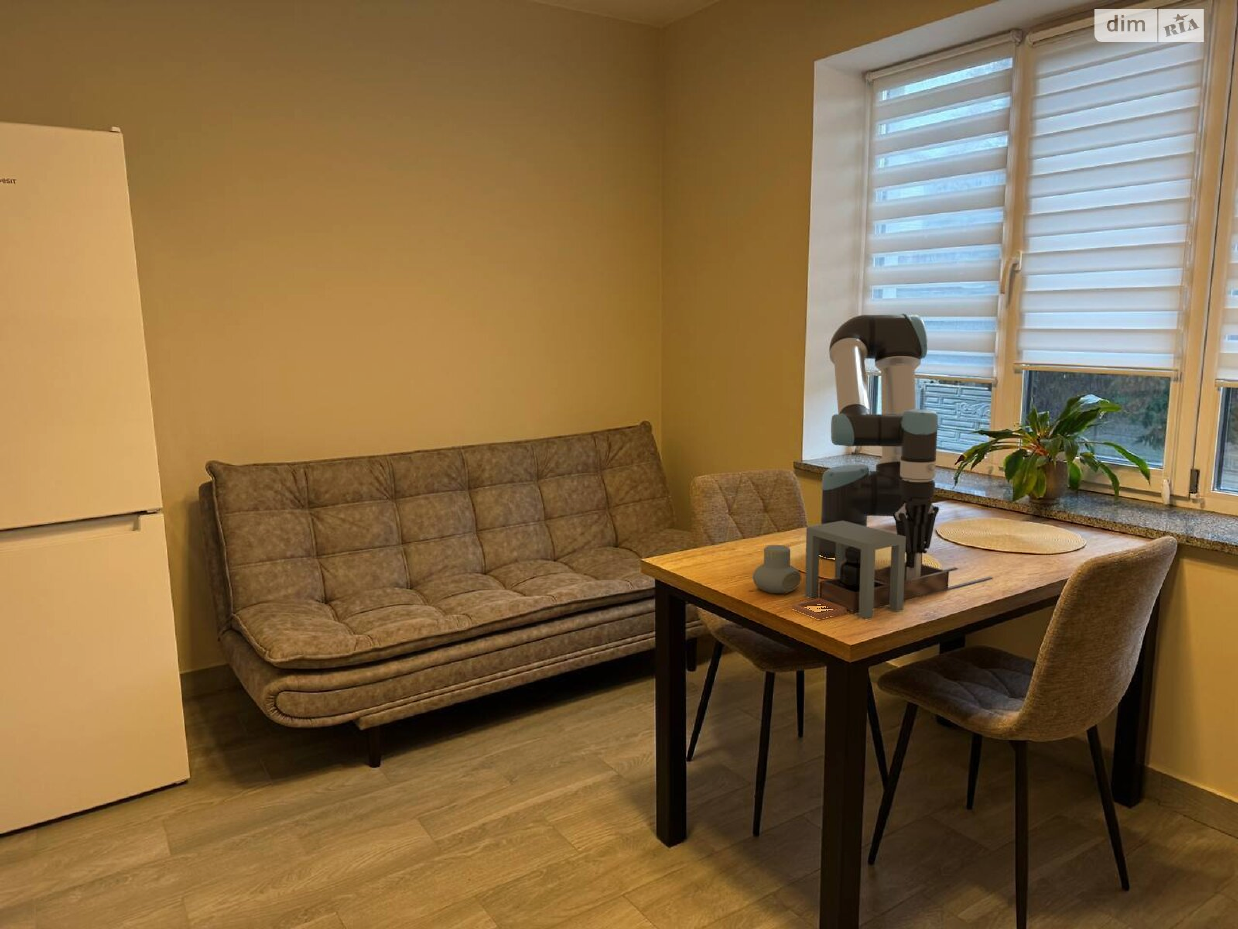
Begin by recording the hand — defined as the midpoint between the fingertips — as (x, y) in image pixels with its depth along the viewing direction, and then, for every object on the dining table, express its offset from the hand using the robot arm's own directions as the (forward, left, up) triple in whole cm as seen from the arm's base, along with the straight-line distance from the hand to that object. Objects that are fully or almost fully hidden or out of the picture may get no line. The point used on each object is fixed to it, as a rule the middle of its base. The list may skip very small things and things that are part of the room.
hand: (913, 580), depth 198 cm
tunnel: (0, -2, -2) cm, 3 cm away
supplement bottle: (0, -19, -2) cm, 19 cm away
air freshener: (-16, -27, -2) cm, 31 cm away
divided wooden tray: (0, -9, -2) cm, 9 cm away
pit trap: (0, -29, -2) cm, 29 cm away
